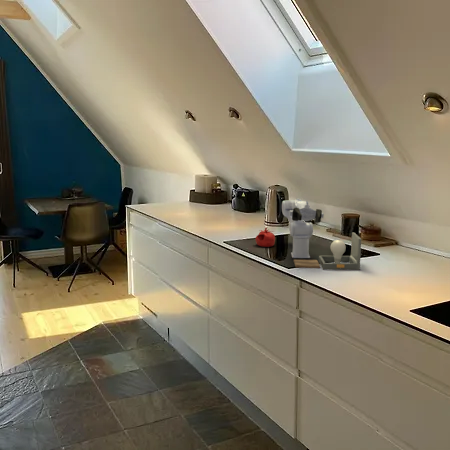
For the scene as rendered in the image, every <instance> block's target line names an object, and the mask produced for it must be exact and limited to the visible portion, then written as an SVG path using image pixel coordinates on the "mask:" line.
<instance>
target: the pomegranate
mask: <svg viewBox="0 0 450 450" xmlns="http://www.w3.org/2000/svg"><path fill="white" fill-rule="evenodd" d="M258 231H259V233H258V234H257V235H256V236H255V243H256V245H257V246H259V247H262V248H271V247H273V246H274V245H275V242H276V237H275V236H276V235H275V234H274V230H270V229H268V227H265V228H264V229H263V230H262V229H259V230H258Z"/></svg>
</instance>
